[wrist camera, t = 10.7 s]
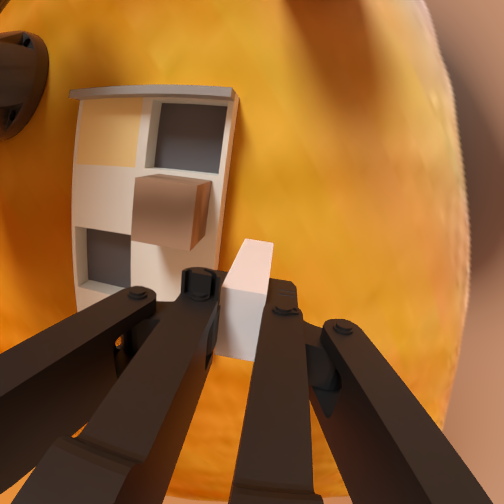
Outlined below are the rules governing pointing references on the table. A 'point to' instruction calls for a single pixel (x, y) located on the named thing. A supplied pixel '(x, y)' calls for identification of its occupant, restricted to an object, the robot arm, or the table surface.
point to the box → (137, 165)
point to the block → (170, 210)
